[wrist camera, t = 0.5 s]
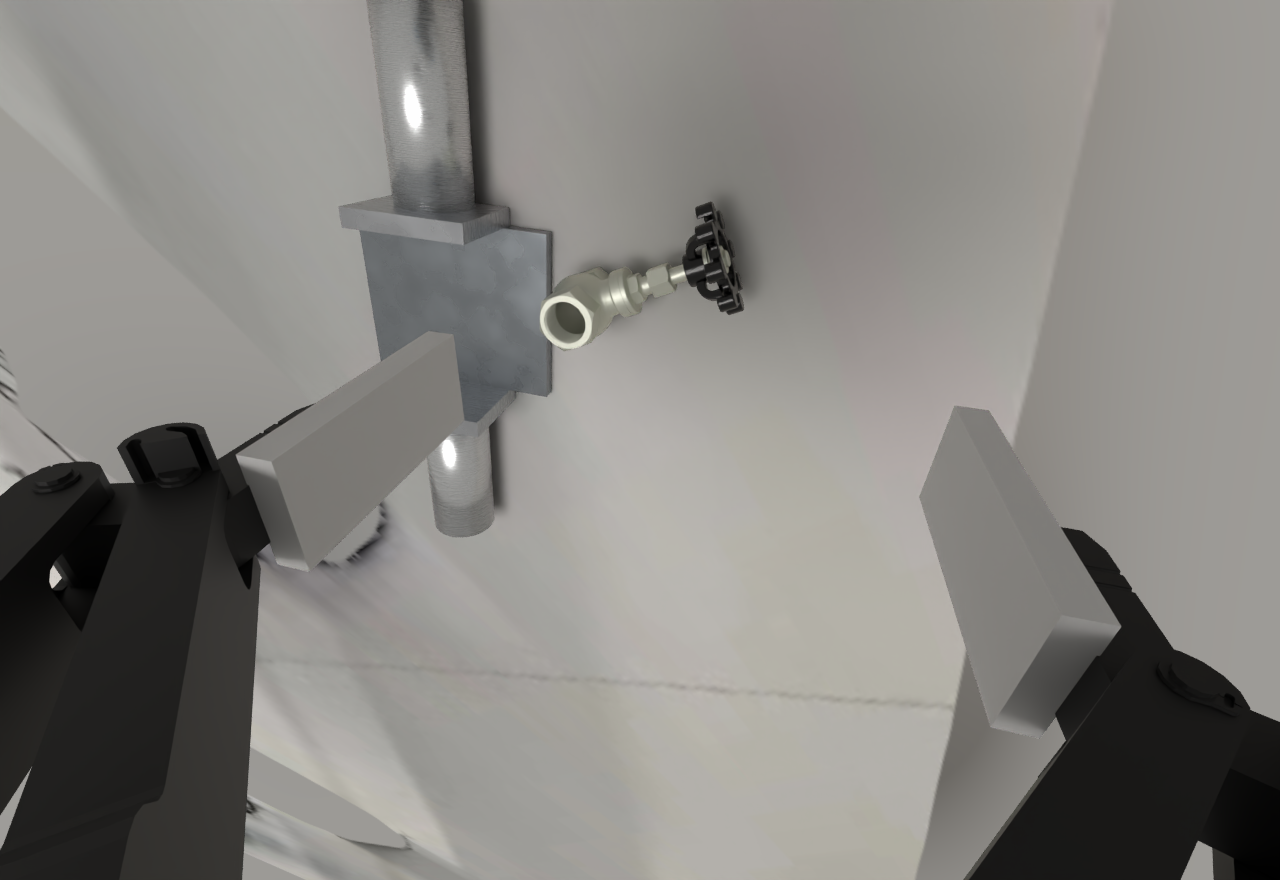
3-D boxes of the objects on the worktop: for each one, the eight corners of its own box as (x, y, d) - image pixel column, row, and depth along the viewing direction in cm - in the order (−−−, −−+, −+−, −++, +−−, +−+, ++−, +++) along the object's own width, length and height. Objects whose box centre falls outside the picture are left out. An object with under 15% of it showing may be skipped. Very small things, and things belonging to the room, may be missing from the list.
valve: (589, 344, 42) (747, 295, 38) (558, 380, 37) (740, 327, 32) (552, 257, 40) (718, 193, 35) (512, 281, 34) (704, 209, 30)
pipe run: (330, -18, 34) (242, -43, 29) (552, -2, 32) (502, -26, 27) (408, 486, 53) (364, 530, 48) (550, 517, 51) (521, 566, 46)
